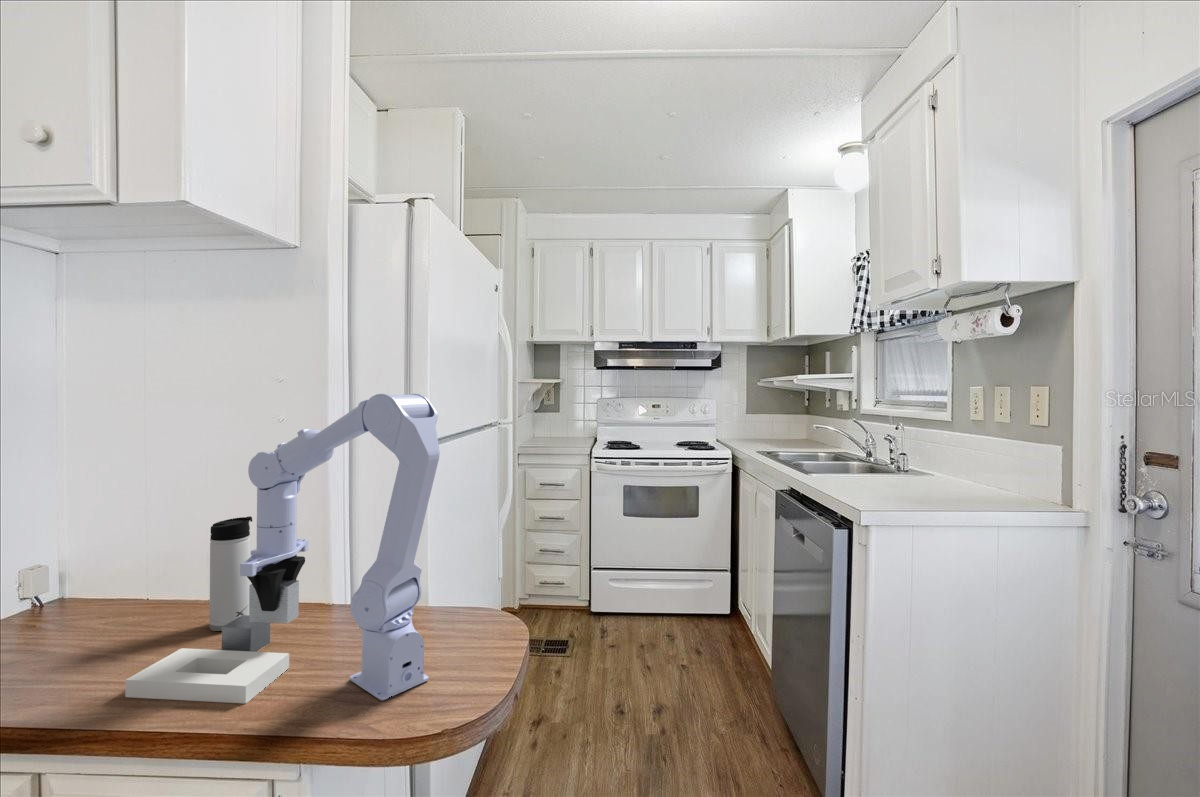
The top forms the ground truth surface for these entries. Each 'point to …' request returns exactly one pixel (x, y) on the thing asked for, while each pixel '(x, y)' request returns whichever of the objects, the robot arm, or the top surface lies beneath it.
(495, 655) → the top surface
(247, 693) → the slot board
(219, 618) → the travel mug
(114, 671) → the top surface
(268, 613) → the blocky grey bit
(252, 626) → the square bit
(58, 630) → the top surface
